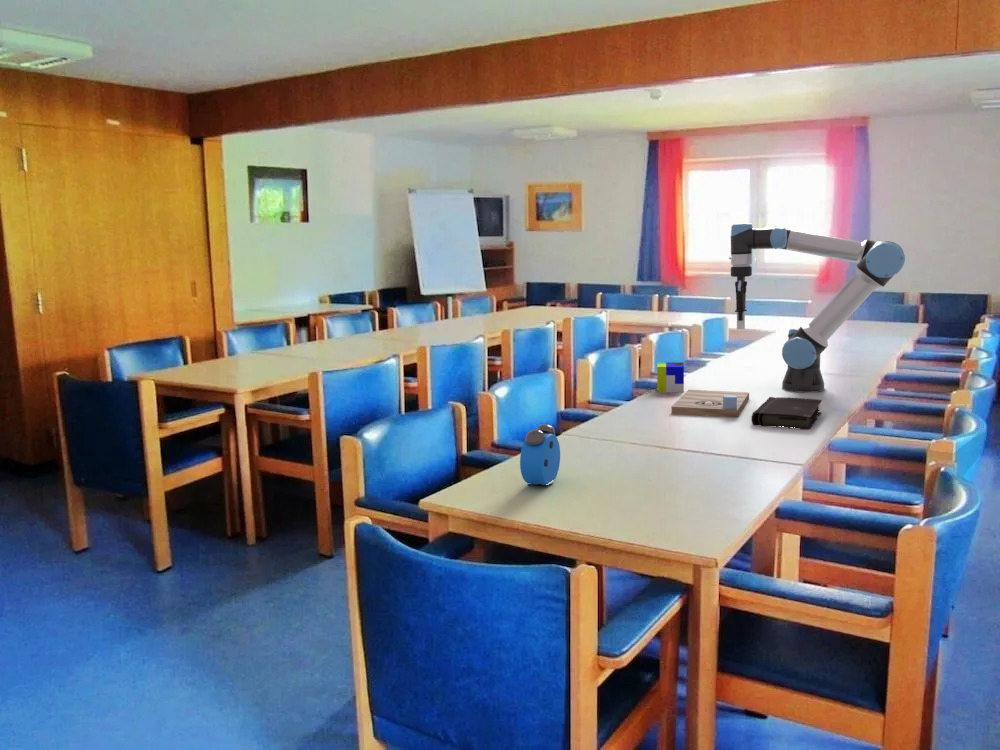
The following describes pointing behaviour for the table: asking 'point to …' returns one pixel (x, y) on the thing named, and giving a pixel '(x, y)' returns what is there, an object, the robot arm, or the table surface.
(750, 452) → the table surface
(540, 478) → the alarm clock
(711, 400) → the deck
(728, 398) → the blue block
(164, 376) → the table surface
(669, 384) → the puzzle toy
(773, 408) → the diary
